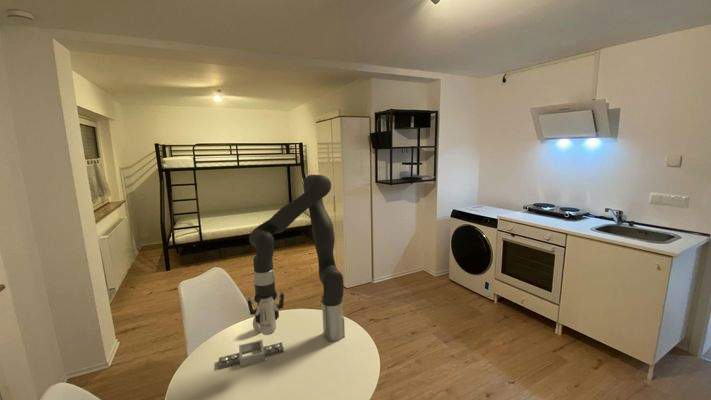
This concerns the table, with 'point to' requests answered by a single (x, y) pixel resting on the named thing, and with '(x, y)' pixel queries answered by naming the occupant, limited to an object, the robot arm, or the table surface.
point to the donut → (256, 325)
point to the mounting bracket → (250, 359)
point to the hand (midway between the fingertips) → (267, 320)
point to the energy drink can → (267, 316)
